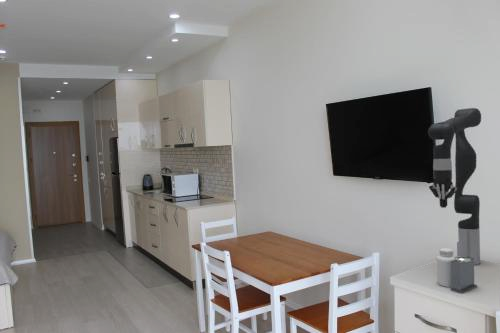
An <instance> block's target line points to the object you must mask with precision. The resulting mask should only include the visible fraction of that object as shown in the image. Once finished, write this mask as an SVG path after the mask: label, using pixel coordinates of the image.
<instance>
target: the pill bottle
mask: <svg viewBox="0 0 500 333" xmlns="http://www.w3.org/2000/svg"><path fill="white" fill-rule="evenodd" d="M455 256H456V255H454V250H453V248H449V247H444V248H443V247H441V248H440V249H439V255H437V257H436V278H437V279H436V281H437V282H436V283H437V284H438V285H439V286H443V287H446V288H447V287H448V288H451V276H450V273H451V261H453V260H454V257H455Z"/></svg>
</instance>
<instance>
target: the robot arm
mask: <svg viewBox="0 0 500 333" xmlns="http://www.w3.org/2000/svg"><path fill="white" fill-rule="evenodd" d="M453 116H454V117H452V118H451V117H450V118H449V119H447V120H445V121H439V122H436V123H433V124H431V125H430V127H429V128H428V131H427V132H428V136H429V138H430V139H431V140H437V141H438V140H443V142H442V144H438V145H437V144H436V145H434V146H433V161H432V162H433V164H432V168H433V169H432V170H433V171H432V173H433V176H432V177H433V183H432V184H431V185H429V186H428V188H429V190H430V191H431V193H432V194H433V195H434V197H435V198H438V200H439V206H440V208H442V209H443V208H444V209H445V208H447V206H448V199H451V198H452V197H453V196H454V199H453V206H454V207H453V209H454V212H455V213H456V214H464V215H465V214H466V215H471V216H470V217H468V218H465V219H461V220H459V221H457V222H458V223H457V228H458V229H457V230H458V231H457V233H458V235H457V237H458V241H457V243H456V256H467V257H472V258H474V266H477V265H480V264H481V243H480V242H481V238H480V207H481V206H480V205H481V204H480V197H479V195H477V194H463V192H464V189H465V186H466V184H467V182H468V181H469V179H471V177H472V175H473V174H475V171H476V169H477V153H476V151H475V149H474V148H473V146H472V145H471V143H470V141H469V140H468V139H467V137H466V133H465V129H467V128H468V129H469V128H474V127H478V126H479V125H480V123H481V122H482V113H481V110H479V108H476V107H471V108H470V107H469V108H468V107H467V108H461V109H457V110H456V111H455V113H454V115H453ZM454 136H455V159H454V160H455V161H454V166H455V169H454V170H455V184H453V181H452V179H453V165H452V152H451V151H452V150H451V149H452V144H453V141H454Z"/></svg>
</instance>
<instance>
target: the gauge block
mask: <svg viewBox="0 0 500 333" xmlns="http://www.w3.org/2000/svg"><path fill="white" fill-rule="evenodd" d="M454 256H455V257H454V260H453V261H451V273H450V276H451V287H450V291H452V292H455V293H460V294H462V295H463V294H465V293H467V292H469V291H472V290H474V289H476V288H478V284H475V265H474V258H472V257H467V256H457V255H454Z"/></svg>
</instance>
